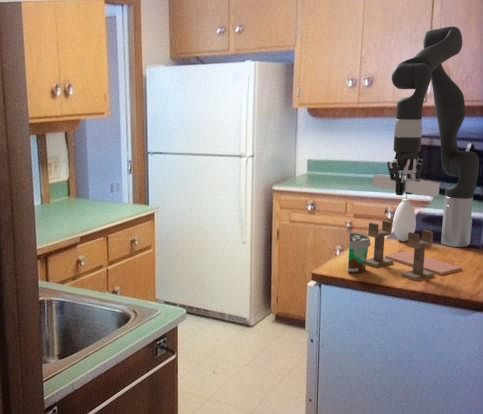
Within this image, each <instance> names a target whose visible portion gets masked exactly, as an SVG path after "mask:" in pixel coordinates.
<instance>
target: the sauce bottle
mask: <svg viewBox="0 0 483 414" xmlns="http://www.w3.org/2000/svg"><path fill="white" fill-rule="evenodd" d="M410 200H411V199H410V198H408V194H406V193H405V198H402V199H401V202H400V203H399V204H398V206H397V208H396V209H395V213H394V216H393V219H392V229H393V230H392V231H393V233H394V236H395V238H397V239H398V240H399V241H401V242H407V241H408V233H410V232H411V233H415V231H416V225H417V218H416V214H415V213H416V212H415V209H414V207H413V205H412V202H411V201H410Z"/></svg>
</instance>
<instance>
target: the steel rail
mask: <svg viewBox="0 0 483 414" xmlns="http://www.w3.org/2000/svg"><path fill="white" fill-rule="evenodd" d="M400 178H401V176H400ZM372 183H373V184H372V187H376V188H381V189H387V190H392V191H395V190H396V182H395V181H393V180H391V179H390V174H384V173H383V174H382V173H380V174H374V175H373V182H372ZM403 183H404V189H403V193H405V192H409V193H412V194H415V195H421V196H426V197H436V196H439V195H440V182H437V181H431V180H423V179H411V178H406V177H405V178H404V182H403Z"/></svg>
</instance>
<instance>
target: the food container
mask: <svg viewBox="0 0 483 414" xmlns="http://www.w3.org/2000/svg"><path fill="white" fill-rule="evenodd" d="M348 244H349V245H348V247H349V248H348V263H347V265H348V266H347V267H348V268H347V270H348V271H347V274H348V275H354V274H355V275H358V274H363V273H364V272H366V266H367V265H366V260H367V258H368V252H369V251H368V249H369V247H370V246H371V240H370V236H368V235H366V234H364V233H358V232H349V243H348Z"/></svg>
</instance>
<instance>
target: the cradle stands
mask: <svg viewBox="0 0 483 414" xmlns="http://www.w3.org/2000/svg"><path fill="white" fill-rule="evenodd" d="M381 223H382V224H381V230H379V227H380V226H379V224H378V223H375V222H368V233H367V236H368V237H371V238H374V247H373V248H374V250H373V258H368V259H367V260H366V266H370V267H372V268H379V267H383V266H384V267H385V266H387V265H391V264H392V265H393V264H394V261H393V260H390V259H387V258H385V256H384V251H385V247H384V246H385V237H387V236H391V235H392V232H393V230H392V229H393V221H390V220H389V221H388V220H382V222H381ZM433 239H434V232H433V231H430V230H428V229H427V230H426V229H422V230H421V240H420V234H419V233H415V232H414V233H411V232H410V233H408V240H407V247H408V248H412V249H414V251H413V254H414V262H413V267H412V270H408V271H405V272H401V277H403V278H406V279H409V280H411V281H415V282H417V281H421V280H425V279H429V278H432V277H435V273H432V272H429V271H426V270H423V266H424V257H425V252H426V251H425V250H426V248H428V247H432V246H433Z"/></svg>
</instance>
